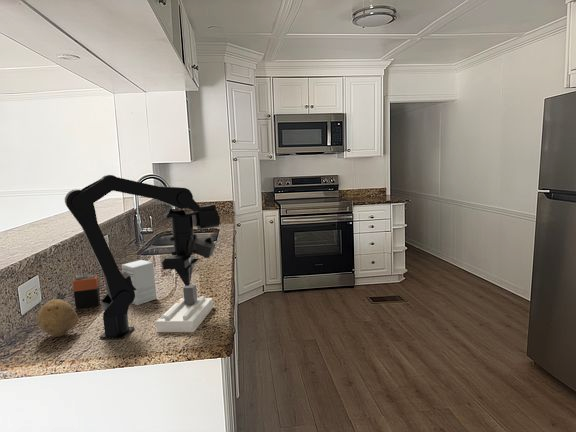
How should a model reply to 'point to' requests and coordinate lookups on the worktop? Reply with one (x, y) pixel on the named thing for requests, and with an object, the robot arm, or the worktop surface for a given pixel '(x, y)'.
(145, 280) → the supplement box
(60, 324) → the tan rounded lump
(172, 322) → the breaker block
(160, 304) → the worktop surface
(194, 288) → the switch knob
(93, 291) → the battery
